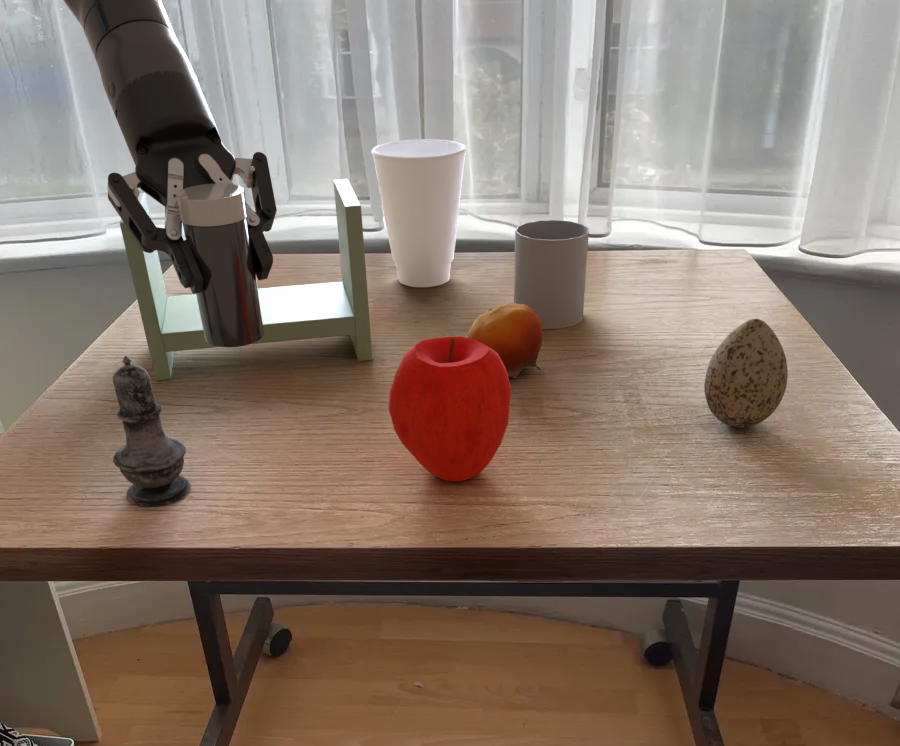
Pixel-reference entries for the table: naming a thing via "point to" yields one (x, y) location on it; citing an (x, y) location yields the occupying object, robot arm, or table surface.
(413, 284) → the cup
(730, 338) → the decorative egg
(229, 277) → the tumbler
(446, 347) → the apple
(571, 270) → the cup
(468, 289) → the table surface
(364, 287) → the shelf
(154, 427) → the salt shaker
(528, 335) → the fruit
